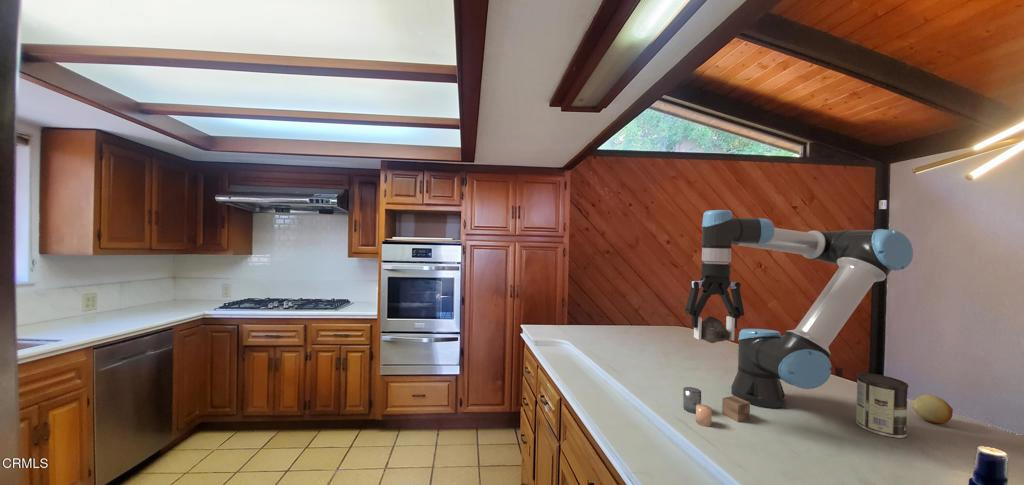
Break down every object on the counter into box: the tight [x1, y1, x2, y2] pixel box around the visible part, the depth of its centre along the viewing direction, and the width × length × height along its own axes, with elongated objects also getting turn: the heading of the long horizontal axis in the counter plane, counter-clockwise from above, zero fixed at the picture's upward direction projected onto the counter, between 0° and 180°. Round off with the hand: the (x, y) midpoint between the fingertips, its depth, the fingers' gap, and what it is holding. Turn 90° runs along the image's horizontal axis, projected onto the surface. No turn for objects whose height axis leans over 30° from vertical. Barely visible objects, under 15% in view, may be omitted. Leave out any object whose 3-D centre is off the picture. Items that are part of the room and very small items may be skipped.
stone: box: [694, 316, 729, 344], centre depth 107 cm, size 10×8×10 cm
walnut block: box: [721, 395, 751, 423], centre depth 108 cm, size 5×5×5 cm
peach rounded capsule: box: [695, 403, 713, 428], centre depth 104 cm, size 4×4×4 cm
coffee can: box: [855, 372, 909, 439], centre depth 103 cm, size 10×10×14 cm
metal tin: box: [682, 386, 702, 414], centre depth 112 cm, size 5×5×6 cm
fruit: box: [911, 393, 954, 425], centre depth 108 cm, size 8×8×8 cm
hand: (713, 338), depth 107 cm, fingers closed on stone, 9 cm apart
